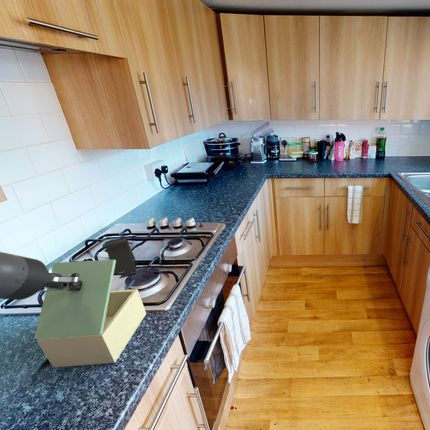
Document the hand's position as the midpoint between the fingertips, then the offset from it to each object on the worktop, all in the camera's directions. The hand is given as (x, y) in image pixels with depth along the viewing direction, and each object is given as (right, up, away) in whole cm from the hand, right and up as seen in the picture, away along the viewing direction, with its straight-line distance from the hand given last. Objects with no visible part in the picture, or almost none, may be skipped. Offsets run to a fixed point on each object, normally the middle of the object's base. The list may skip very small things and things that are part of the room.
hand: (78, 286), depth 65 cm
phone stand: (-12, -3, +34) cm, 36 cm away
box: (0, -15, +8) cm, 17 cm away
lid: (0, -3, 0) cm, 3 cm away
